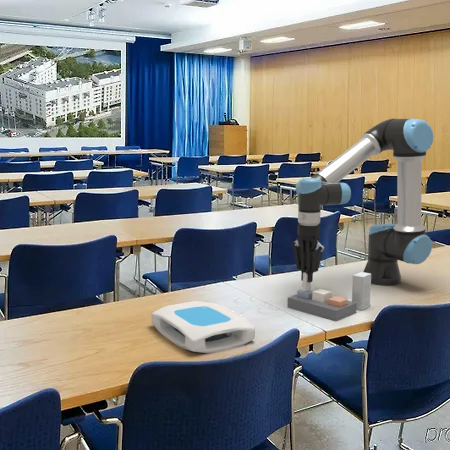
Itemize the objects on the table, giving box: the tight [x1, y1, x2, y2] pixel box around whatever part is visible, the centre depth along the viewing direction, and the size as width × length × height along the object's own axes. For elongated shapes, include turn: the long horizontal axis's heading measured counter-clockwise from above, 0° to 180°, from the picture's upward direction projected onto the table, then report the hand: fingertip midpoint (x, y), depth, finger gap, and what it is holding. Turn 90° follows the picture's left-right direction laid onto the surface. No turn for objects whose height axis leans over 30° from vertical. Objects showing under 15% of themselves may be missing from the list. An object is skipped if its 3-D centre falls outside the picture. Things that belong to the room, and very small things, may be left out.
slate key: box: [296, 288, 314, 299], centre depth 209 cm, size 5×5×4 cm
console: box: [287, 294, 357, 322], centre depth 205 cm, size 12×20×4 cm, turn 46°
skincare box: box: [351, 271, 372, 311], centre depth 207 cm, size 6×4×12 cm
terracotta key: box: [328, 295, 349, 308], centre depth 200 cm, size 5×5×4 cm
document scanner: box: [151, 300, 256, 354], centre depth 181 cm, size 21×28×6 cm
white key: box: [312, 288, 332, 303], centre depth 204 cm, size 5×5×4 cm
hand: (306, 290), depth 209 cm, fingers closed
